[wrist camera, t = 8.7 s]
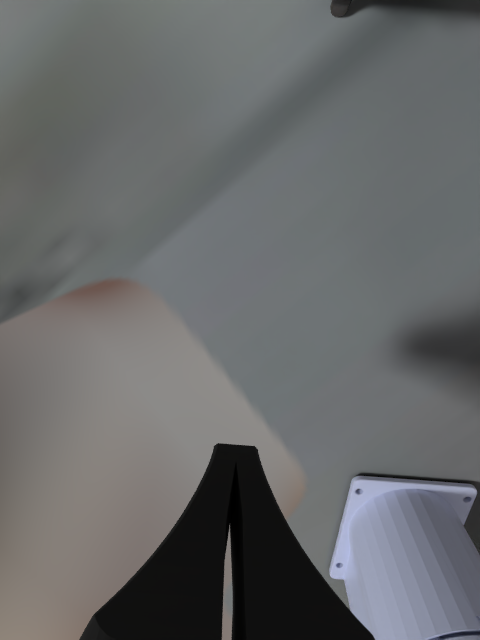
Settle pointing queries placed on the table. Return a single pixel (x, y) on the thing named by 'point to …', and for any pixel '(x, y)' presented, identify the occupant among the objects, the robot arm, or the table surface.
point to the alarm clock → (339, 7)
